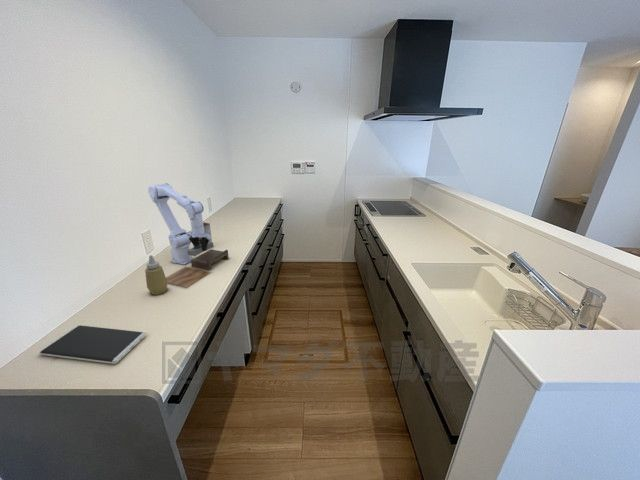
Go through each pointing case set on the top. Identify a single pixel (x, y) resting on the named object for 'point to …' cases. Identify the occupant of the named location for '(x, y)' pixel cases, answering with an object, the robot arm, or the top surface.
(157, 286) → the squeeze bottle
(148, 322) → the top surface
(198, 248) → the remote
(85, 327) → the black flat slab
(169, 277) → the mat
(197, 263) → the shelf
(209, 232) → the coffee box
